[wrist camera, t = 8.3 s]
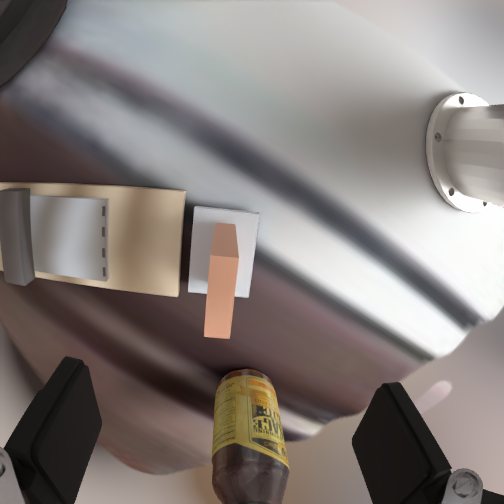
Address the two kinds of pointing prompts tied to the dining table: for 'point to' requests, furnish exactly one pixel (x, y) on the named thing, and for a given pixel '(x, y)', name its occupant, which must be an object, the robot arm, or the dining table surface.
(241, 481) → the sauce bottle
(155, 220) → the ticket board
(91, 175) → the dining table surface
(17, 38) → the casserole
